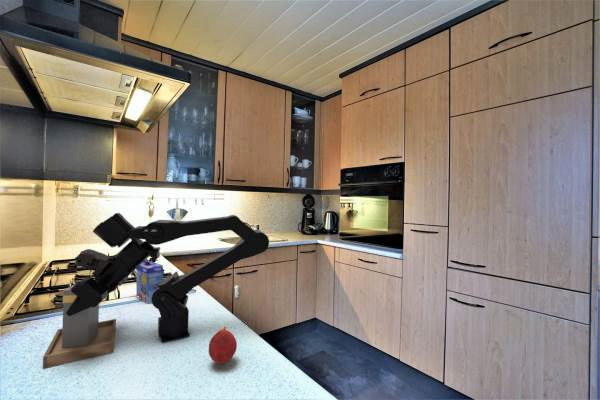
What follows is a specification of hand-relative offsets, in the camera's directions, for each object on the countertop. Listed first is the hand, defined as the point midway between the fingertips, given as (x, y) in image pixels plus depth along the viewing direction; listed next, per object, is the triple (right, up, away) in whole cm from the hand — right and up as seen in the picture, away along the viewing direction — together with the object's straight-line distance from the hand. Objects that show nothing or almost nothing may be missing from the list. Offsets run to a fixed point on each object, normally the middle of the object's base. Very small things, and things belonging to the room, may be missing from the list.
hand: (74, 309), depth 66 cm
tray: (+2, -9, 0) cm, 9 cm away
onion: (+37, -9, -7) cm, 38 cm away
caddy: (+1, -8, 0) cm, 8 cm away
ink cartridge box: (+1, -9, +31) cm, 32 cm away
